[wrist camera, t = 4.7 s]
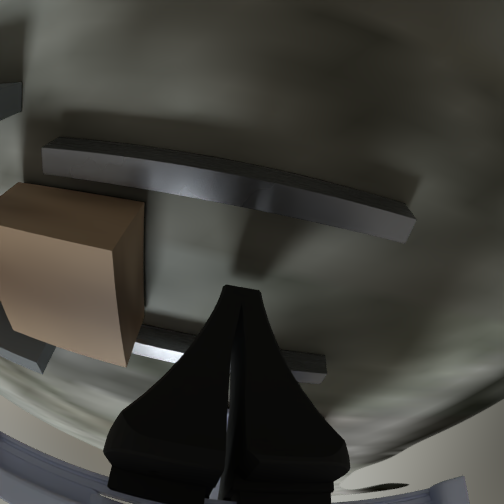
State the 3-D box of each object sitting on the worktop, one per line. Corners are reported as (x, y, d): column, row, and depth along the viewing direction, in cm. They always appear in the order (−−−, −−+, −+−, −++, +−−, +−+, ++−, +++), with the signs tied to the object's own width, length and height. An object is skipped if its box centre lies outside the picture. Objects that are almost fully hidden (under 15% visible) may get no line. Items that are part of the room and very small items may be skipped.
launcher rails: (318, 366, 17) (320, 384, 16) (83, 320, 15) (74, 336, 14) (405, 203, 11) (416, 219, 10) (59, 137, 10) (41, 147, 9)
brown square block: (144, 316, 14) (126, 367, 12) (40, 288, 14) (13, 330, 11) (144, 202, 11) (112, 250, 9) (18, 182, 10) (-27, 218, 8)
